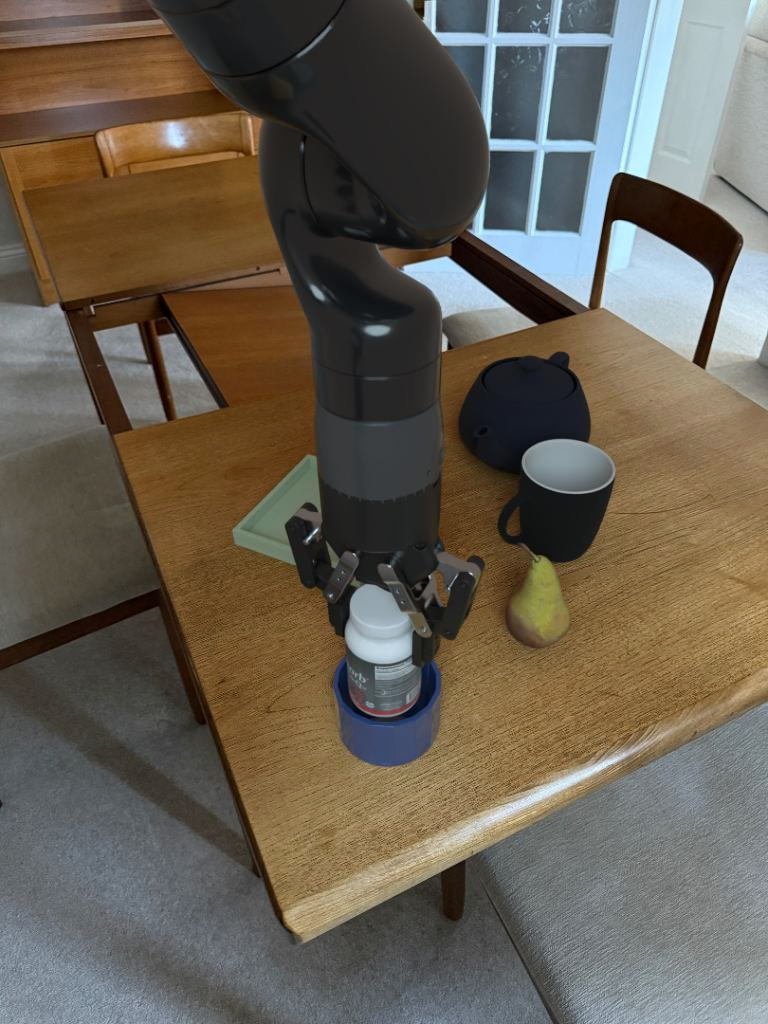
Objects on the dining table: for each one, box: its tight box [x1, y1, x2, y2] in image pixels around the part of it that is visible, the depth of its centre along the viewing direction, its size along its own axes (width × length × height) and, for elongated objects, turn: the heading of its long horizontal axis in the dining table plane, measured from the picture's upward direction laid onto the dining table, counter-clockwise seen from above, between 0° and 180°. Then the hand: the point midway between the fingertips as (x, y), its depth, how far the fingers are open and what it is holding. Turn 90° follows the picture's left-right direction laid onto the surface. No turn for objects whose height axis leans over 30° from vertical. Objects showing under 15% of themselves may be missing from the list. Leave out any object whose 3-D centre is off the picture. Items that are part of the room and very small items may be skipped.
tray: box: [231, 453, 365, 589], centre depth 80 cm, size 15×15×2 cm
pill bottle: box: [344, 583, 422, 717], centre depth 55 cm, size 6×6×10 cm
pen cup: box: [332, 653, 442, 768], centre depth 60 cm, size 8×8×6 cm
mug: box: [496, 439, 617, 563], centre depth 74 cm, size 12×9×10 cm
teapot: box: [457, 350, 592, 476], centre depth 86 cm, size 25×16×12 cm, turn 148°
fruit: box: [505, 542, 572, 649], centre depth 64 cm, size 6×6×12 cm
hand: (384, 643), depth 55 cm, fingers closed on pill bottle, 5 cm apart
